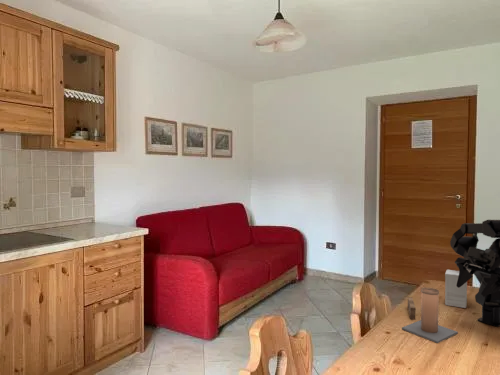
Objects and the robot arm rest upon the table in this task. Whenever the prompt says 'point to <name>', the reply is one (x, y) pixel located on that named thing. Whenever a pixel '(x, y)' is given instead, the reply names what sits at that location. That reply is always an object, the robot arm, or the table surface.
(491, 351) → the table surface
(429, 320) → the terracotta jar
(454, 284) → the supplement box
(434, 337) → the dark grey mat
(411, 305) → the walnut rail
